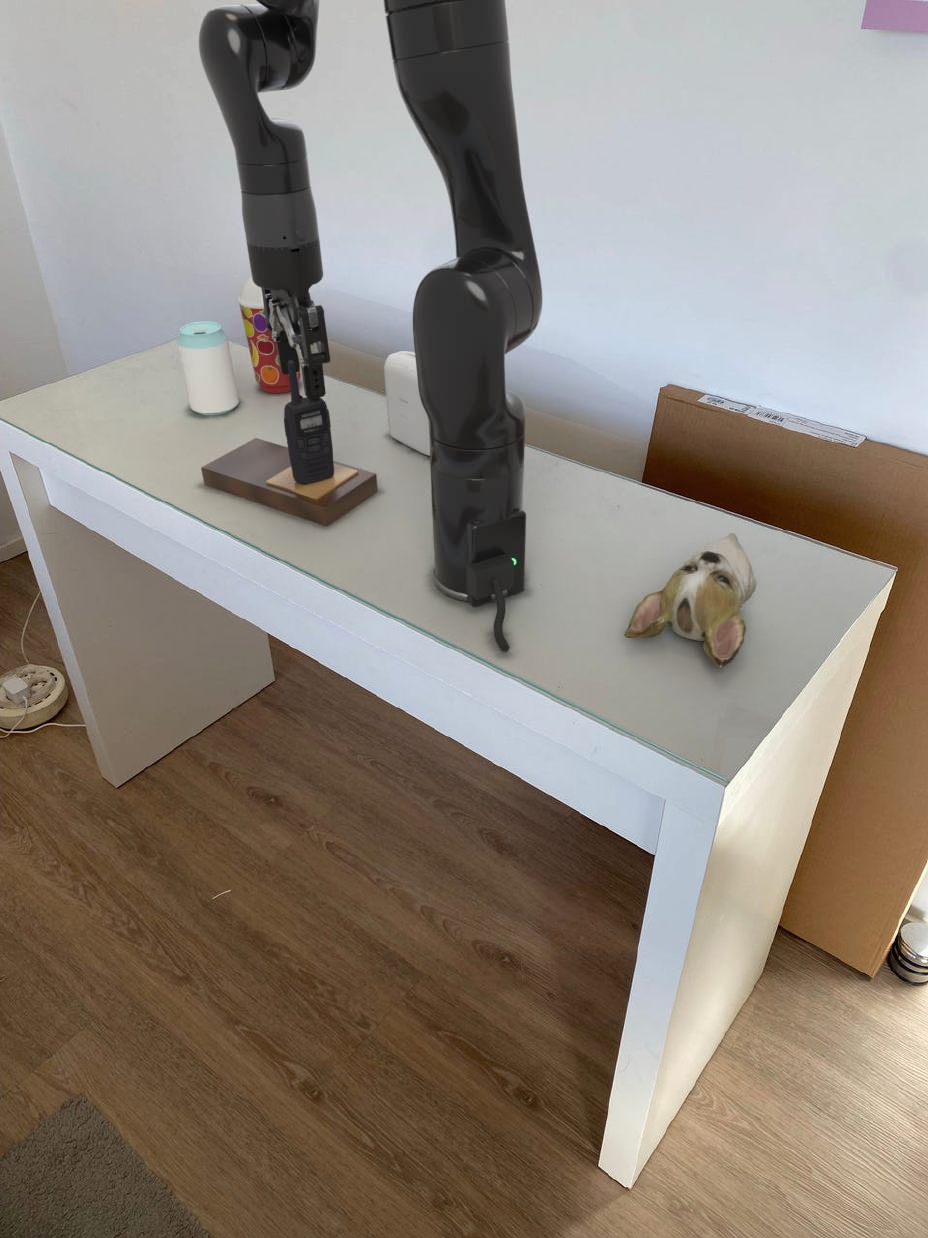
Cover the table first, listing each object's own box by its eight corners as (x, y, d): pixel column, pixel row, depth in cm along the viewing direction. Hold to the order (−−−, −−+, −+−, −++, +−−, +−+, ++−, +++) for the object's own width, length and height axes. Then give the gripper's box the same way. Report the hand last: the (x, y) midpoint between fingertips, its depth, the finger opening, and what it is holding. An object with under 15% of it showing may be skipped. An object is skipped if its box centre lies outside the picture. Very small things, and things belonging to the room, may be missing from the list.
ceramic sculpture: (790, 532, 87) (736, 619, 77) (775, 603, 92) (724, 693, 83) (684, 505, 92) (621, 584, 82) (676, 574, 97) (616, 656, 88)
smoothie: (289, 372, 146) (271, 241, 134) (316, 387, 141) (301, 252, 129) (242, 385, 142) (220, 251, 130) (269, 401, 136) (249, 263, 125)
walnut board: (377, 491, 113) (376, 471, 112) (327, 526, 107) (324, 505, 105) (258, 454, 122) (255, 435, 120) (204, 485, 115) (200, 465, 114)
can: (248, 406, 135) (235, 326, 128) (208, 421, 131) (192, 339, 124) (221, 394, 139) (207, 315, 132) (181, 408, 135) (164, 328, 128)
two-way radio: (298, 489, 108) (281, 367, 99) (284, 474, 111) (266, 354, 102) (340, 477, 111) (327, 357, 102) (325, 463, 114) (312, 345, 105)
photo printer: (384, 435, 126) (377, 348, 119) (409, 427, 129) (404, 340, 121) (429, 461, 120) (425, 370, 113) (454, 451, 122) (452, 362, 115)
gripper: (227, 226, 98) (252, 371, 108) (269, 255, 88) (292, 412, 98) (293, 217, 101) (312, 359, 111) (341, 244, 91) (356, 398, 100)
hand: (302, 384), depth 104 cm, fingers open, 8 cm apart
